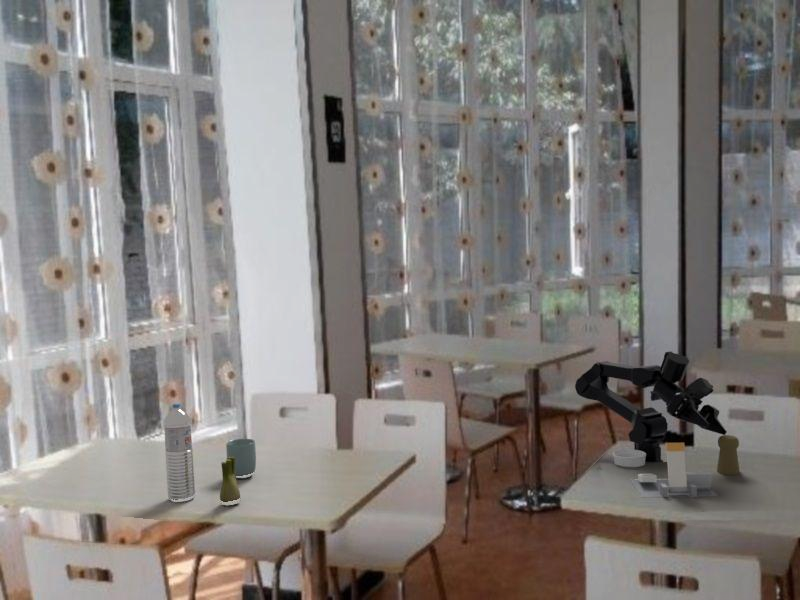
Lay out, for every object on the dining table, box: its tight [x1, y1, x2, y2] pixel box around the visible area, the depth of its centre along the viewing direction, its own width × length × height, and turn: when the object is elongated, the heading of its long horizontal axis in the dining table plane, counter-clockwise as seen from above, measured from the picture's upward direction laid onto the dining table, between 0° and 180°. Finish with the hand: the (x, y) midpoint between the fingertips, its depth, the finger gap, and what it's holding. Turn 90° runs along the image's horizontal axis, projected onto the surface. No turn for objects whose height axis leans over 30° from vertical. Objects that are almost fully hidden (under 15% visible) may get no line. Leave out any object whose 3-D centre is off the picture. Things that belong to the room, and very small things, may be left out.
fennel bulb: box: [219, 456, 241, 502], centre depth 222 cm, size 6×5×12 cm
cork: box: [716, 434, 741, 476], centre depth 231 cm, size 6×6×11 cm
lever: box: [665, 442, 688, 494], centre depth 214 cm, size 2×4×12 cm, turn 87°
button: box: [686, 469, 699, 472], centre depth 221 cm, size 4×4×2 cm
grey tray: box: [629, 477, 719, 498], centre depth 220 cm, size 15×18×4 cm
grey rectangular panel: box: [686, 471, 713, 489], centre depth 216 cm, size 1×6×5 cm, turn 86°
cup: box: [225, 438, 257, 476], centre depth 245 cm, size 8×8×10 cm
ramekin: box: [612, 448, 646, 468], centre depth 242 cm, size 9×9×4 cm
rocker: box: [637, 473, 658, 482], centre depth 222 cm, size 5×4×2 cm
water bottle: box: [163, 402, 196, 500], centre depth 227 cm, size 7×7×25 cm
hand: (716, 429), depth 225 cm, fingers open, 9 cm apart
